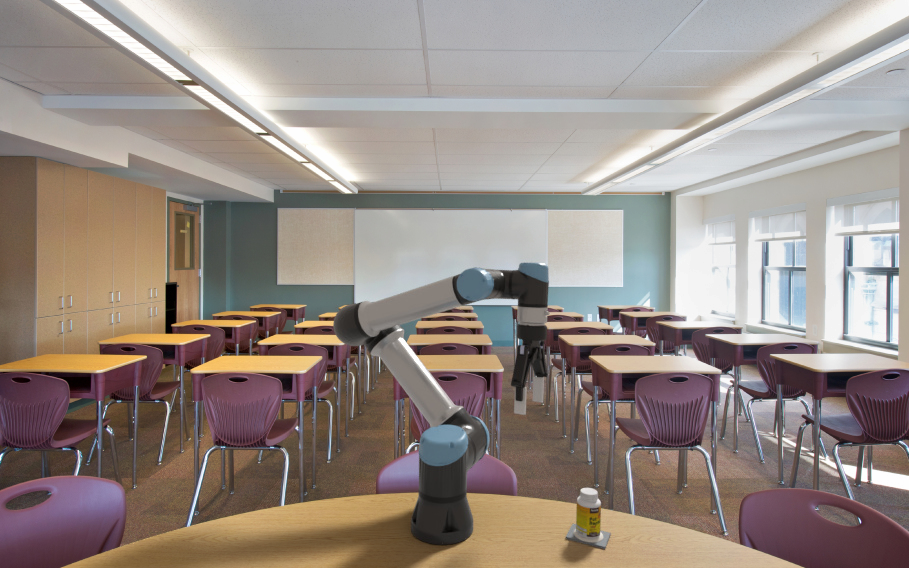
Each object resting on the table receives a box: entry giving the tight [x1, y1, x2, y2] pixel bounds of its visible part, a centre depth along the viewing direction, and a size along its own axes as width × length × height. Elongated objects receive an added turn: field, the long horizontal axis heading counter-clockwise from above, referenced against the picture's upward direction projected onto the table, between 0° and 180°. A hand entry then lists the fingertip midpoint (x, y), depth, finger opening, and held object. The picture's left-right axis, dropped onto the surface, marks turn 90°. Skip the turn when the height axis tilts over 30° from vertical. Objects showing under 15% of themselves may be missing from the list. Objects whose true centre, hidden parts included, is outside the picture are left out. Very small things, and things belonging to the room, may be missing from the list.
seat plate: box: [565, 523, 612, 550], centre depth 113 cm, size 9×7×1 cm
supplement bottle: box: [575, 487, 602, 539], centre depth 113 cm, size 6×6×10 cm
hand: (529, 407), depth 122 cm, fingers open, 13 cm apart
